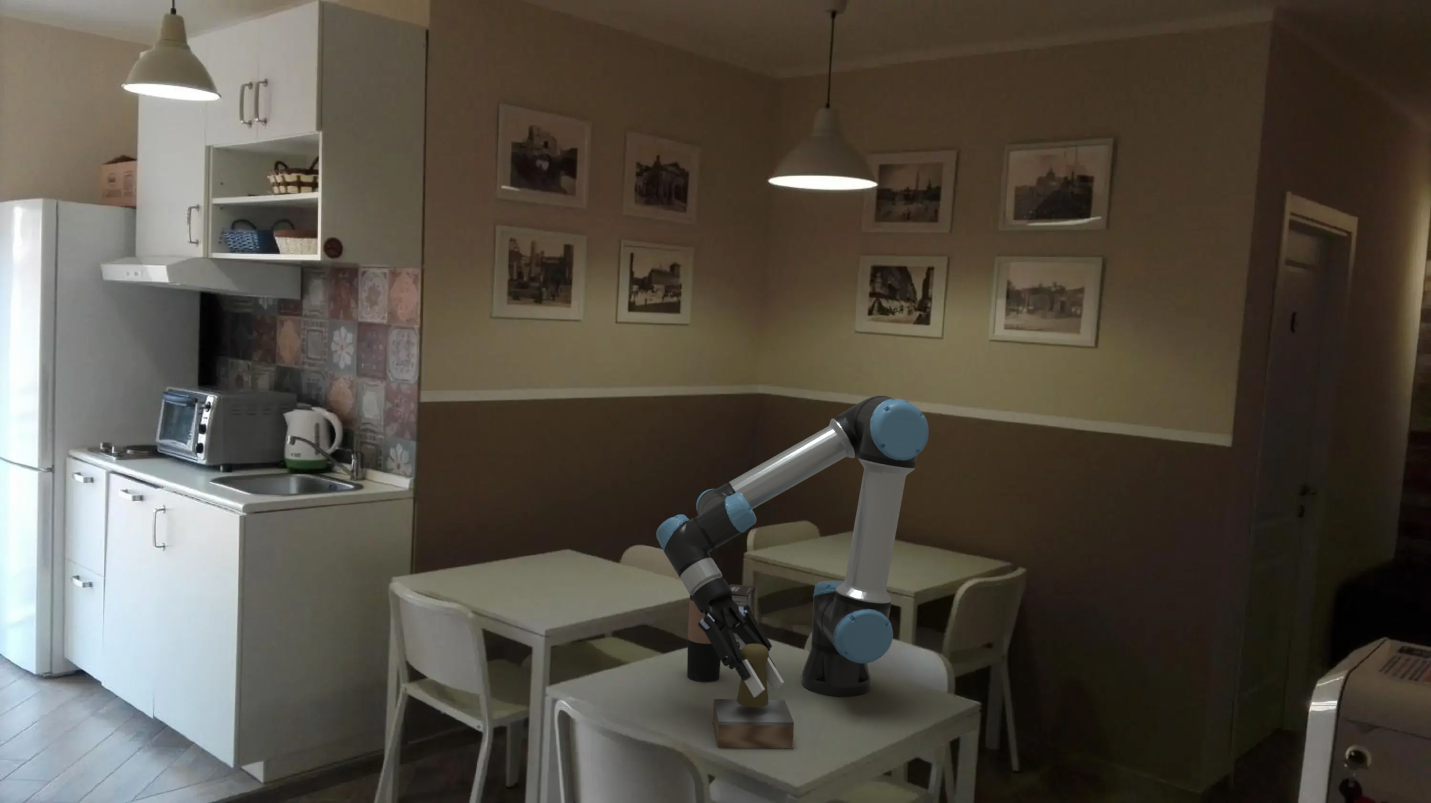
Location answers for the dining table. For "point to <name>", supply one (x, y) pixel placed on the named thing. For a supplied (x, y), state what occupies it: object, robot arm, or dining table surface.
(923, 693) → the dining table surface
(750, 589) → the coffee box
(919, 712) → the dining table surface
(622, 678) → the dining table surface
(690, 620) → the travel mug
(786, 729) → the walnut stand
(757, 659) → the cork
